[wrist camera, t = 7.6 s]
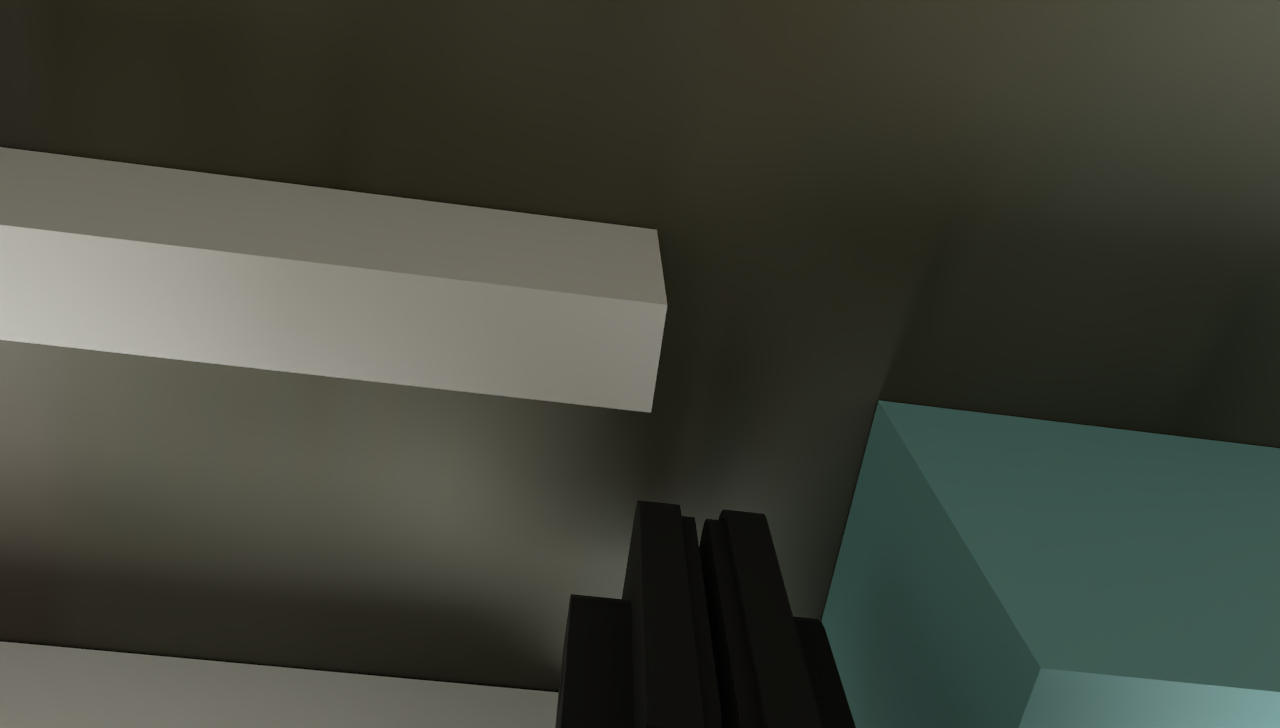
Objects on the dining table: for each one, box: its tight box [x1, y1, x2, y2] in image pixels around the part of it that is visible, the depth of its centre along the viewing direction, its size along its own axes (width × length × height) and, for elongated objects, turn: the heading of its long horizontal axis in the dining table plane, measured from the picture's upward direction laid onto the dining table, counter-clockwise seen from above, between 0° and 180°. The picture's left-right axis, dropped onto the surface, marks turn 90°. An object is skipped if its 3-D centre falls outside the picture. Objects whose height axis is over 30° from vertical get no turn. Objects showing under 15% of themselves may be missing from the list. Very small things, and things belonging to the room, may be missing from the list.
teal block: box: [821, 400, 1280, 728], centre depth 12 cm, size 5×8×6 cm, turn 82°
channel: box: [0, 147, 667, 728], centre depth 12 cm, size 9×12×3 cm
